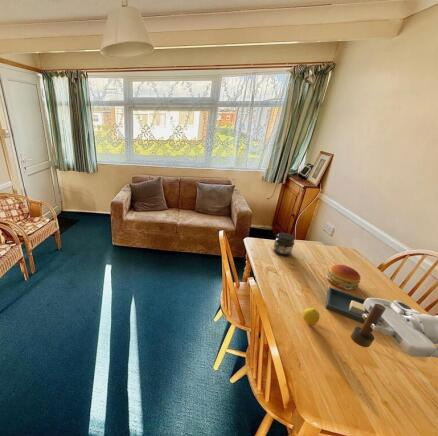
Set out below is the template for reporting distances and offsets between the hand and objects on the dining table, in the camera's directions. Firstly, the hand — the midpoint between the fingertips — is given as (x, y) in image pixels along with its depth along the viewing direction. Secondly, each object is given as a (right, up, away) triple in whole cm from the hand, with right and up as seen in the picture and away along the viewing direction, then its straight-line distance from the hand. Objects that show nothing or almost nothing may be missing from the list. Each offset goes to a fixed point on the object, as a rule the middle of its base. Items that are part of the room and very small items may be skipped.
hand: (367, 321), depth 75 cm
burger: (+29, 0, +46) cm, 54 cm away
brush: (+1, -8, +4) cm, 9 cm away
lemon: (-3, -11, +23) cm, 26 cm away
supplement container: (+14, +12, +72) cm, 75 cm away
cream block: (+22, -8, +28) cm, 37 cm away
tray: (+23, -8, +28) cm, 37 cm away
